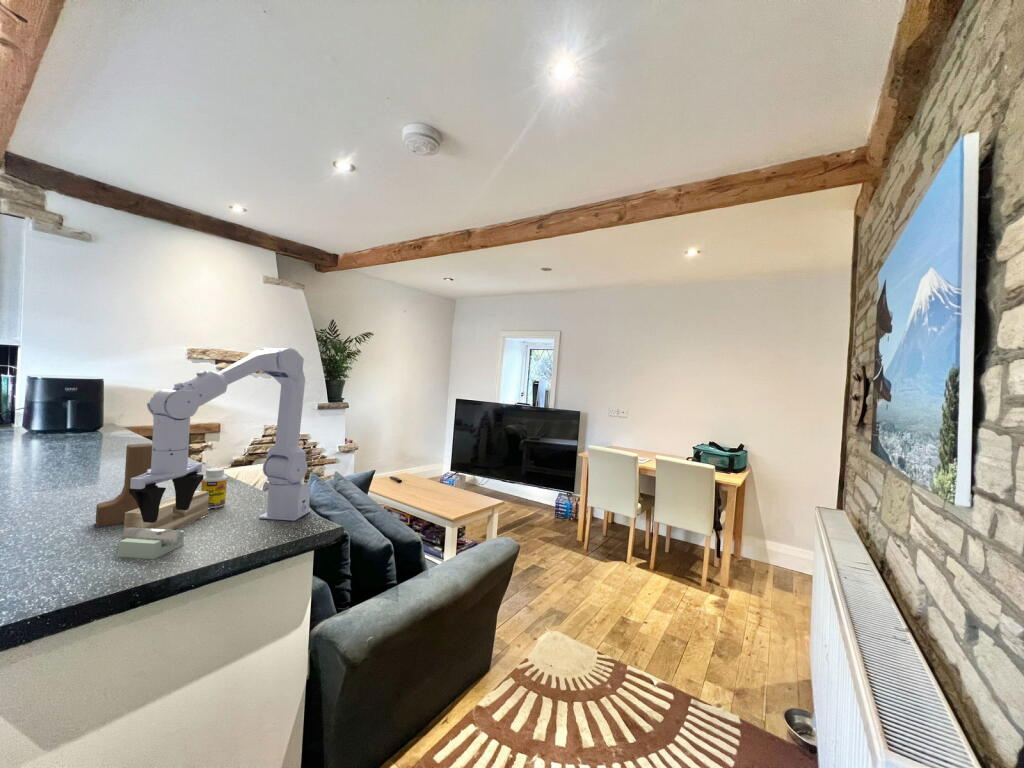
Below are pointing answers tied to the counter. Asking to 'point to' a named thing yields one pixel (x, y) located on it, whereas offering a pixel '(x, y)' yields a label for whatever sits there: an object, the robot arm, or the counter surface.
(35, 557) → the counter surface
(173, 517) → the beam
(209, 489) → the supplement bottle
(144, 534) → the axle
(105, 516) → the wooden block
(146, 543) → the v block
